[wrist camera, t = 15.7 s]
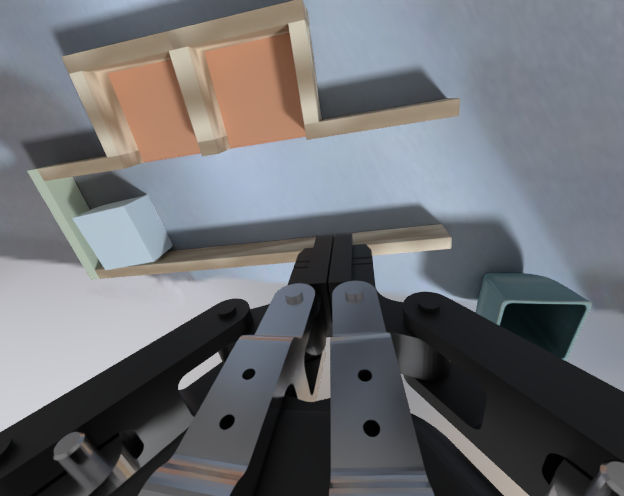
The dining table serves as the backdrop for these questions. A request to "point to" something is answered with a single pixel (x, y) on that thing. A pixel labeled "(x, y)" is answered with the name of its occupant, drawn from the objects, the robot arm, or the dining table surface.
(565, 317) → the flower pot
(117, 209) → the pale blue block
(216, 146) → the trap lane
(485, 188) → the dining table surface
